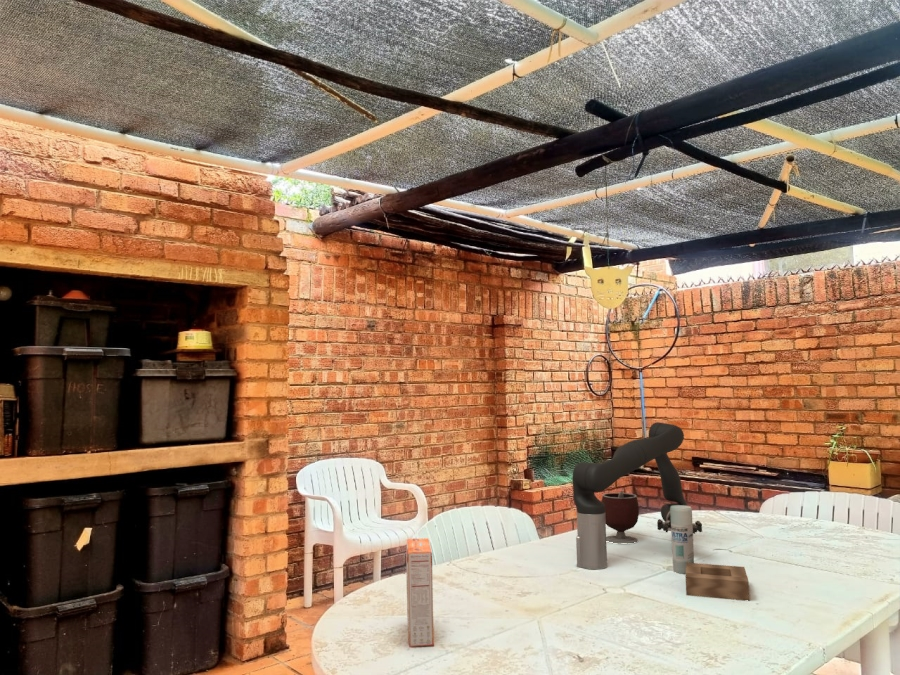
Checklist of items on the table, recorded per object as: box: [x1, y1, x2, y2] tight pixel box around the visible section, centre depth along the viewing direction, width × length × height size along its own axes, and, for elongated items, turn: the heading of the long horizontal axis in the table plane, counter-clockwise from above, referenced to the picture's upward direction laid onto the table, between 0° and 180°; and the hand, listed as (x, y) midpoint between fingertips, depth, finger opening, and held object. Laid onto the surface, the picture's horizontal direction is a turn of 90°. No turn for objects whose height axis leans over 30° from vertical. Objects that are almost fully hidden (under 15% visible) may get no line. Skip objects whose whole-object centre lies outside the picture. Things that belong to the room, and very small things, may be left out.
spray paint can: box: [670, 505, 695, 575], centre depth 202 cm, size 6×6×20 cm
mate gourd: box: [601, 490, 640, 544], centre depth 246 cm, size 16×14×20 cm
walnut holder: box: [685, 562, 751, 602], centre depth 182 cm, size 16×16×5 cm
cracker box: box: [405, 537, 435, 648], centre depth 151 cm, size 14×6×21 cm, turn 5°
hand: (680, 529), depth 211 cm, fingers open, 8 cm apart
